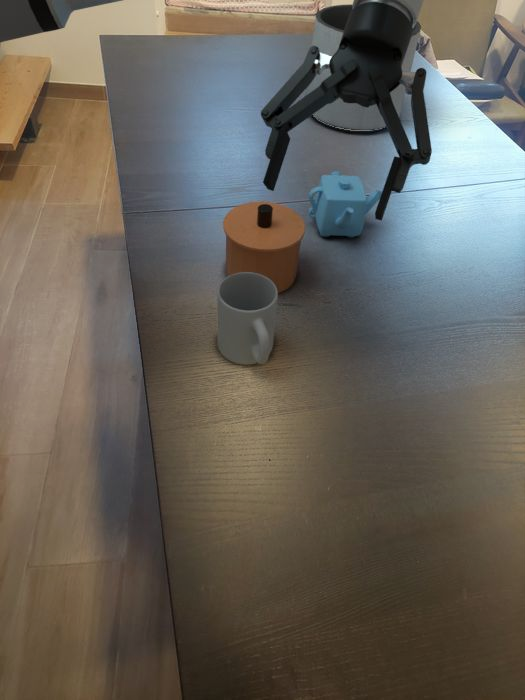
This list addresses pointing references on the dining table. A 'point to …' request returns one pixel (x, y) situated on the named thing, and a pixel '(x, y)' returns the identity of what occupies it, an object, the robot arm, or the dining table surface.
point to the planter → (328, 41)
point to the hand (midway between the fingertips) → (321, 201)
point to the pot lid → (264, 226)
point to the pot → (264, 263)
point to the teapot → (341, 205)
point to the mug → (246, 317)
